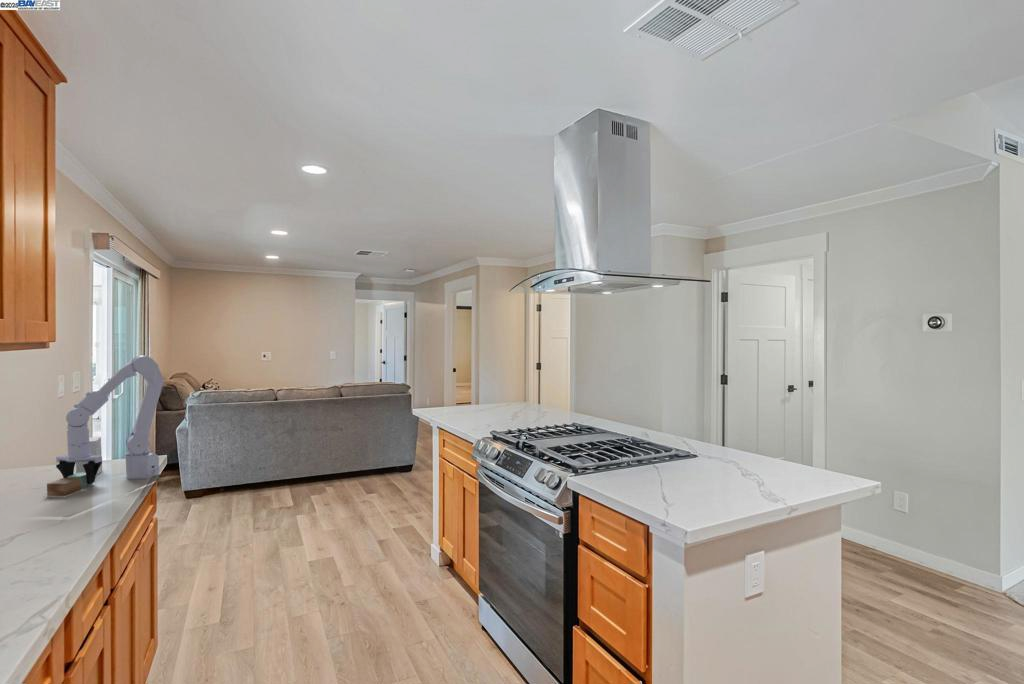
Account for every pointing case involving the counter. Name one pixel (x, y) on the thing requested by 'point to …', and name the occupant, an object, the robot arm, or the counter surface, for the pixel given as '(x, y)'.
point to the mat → (63, 496)
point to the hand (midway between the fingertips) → (80, 483)
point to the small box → (94, 450)
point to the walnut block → (64, 487)
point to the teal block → (80, 475)
